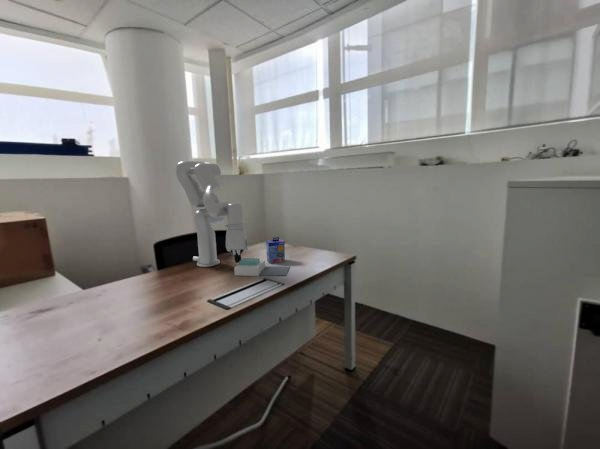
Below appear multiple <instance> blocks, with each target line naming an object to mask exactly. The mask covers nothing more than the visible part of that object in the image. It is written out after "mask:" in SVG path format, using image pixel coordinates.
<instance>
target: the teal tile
mask: <svg viewBox="0 0 600 449" xmlns="http://www.w3.org/2000/svg"><path fill="white" fill-rule="evenodd" d="M260 260H261V259H260V258H259V257H258V258H257V257H256V258H255V257H254V258H253V257H252V258H251V257H243V258H242V257H241V260H240V261H239V263H238V264H239V265H257V264H258V263H259V262H260Z"/></svg>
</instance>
